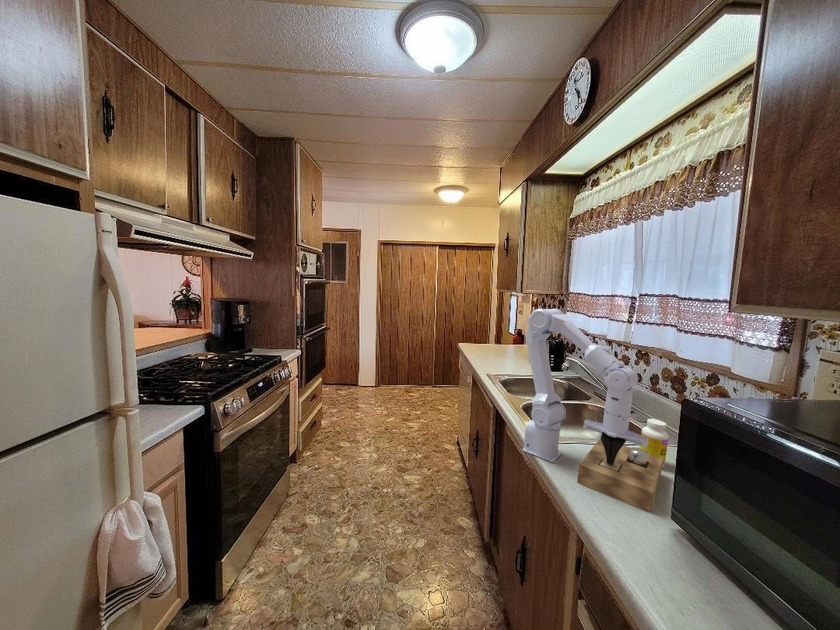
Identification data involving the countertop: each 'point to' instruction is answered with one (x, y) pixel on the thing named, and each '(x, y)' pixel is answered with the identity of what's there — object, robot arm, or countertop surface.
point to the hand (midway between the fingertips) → (610, 462)
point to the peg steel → (638, 457)
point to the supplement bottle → (656, 438)
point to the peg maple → (612, 467)
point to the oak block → (622, 476)
